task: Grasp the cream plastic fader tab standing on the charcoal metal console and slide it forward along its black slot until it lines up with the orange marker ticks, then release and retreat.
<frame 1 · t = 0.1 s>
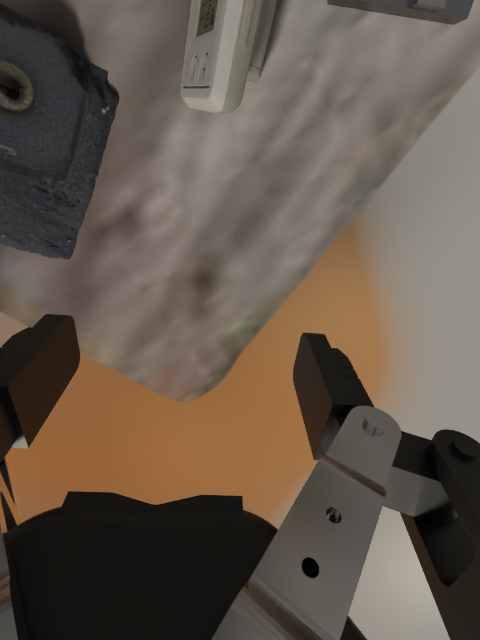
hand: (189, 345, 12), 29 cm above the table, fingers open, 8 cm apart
dark slate chunk: (27, 148, 34), on the table
digital clock: (225, 11, 29), on the table
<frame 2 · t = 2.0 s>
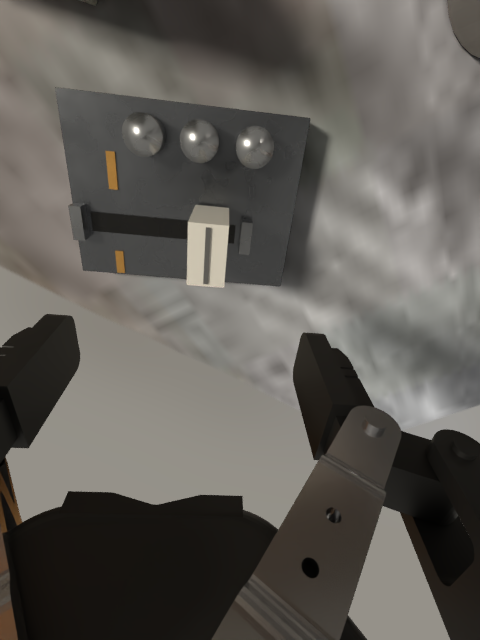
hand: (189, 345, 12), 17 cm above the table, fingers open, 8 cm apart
fader tab: (209, 244, 22), point 5 cm above the table, slide at 0.0 cm
console: (188, 197, 25), on the table
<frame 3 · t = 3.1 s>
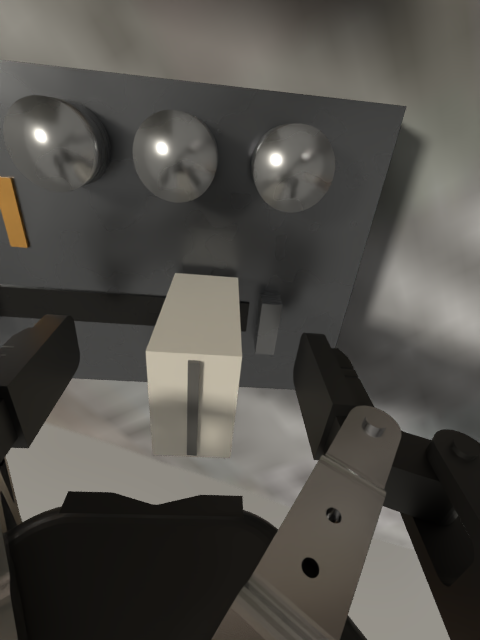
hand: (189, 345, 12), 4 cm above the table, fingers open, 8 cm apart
fader tab: (199, 357, 11), point 5 cm above the table, slide at 0.0 cm
console: (165, 249, 14), on the table
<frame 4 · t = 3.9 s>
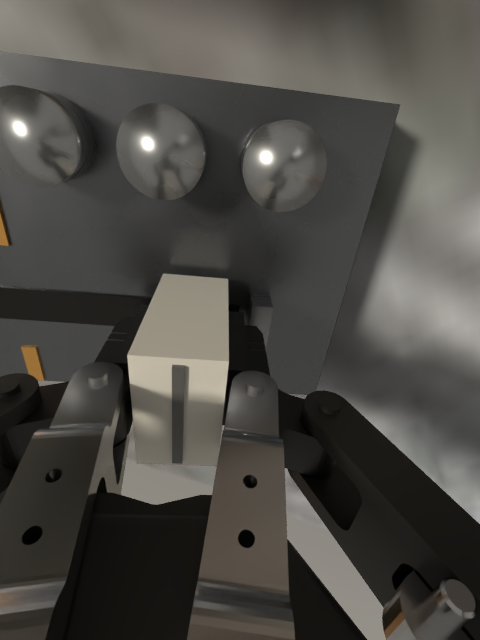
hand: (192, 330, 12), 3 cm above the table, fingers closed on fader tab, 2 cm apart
fader tab: (187, 361, 11), point 5 cm above the table, slide at 0.0 cm, touching gripper
console: (153, 249, 14), on the table
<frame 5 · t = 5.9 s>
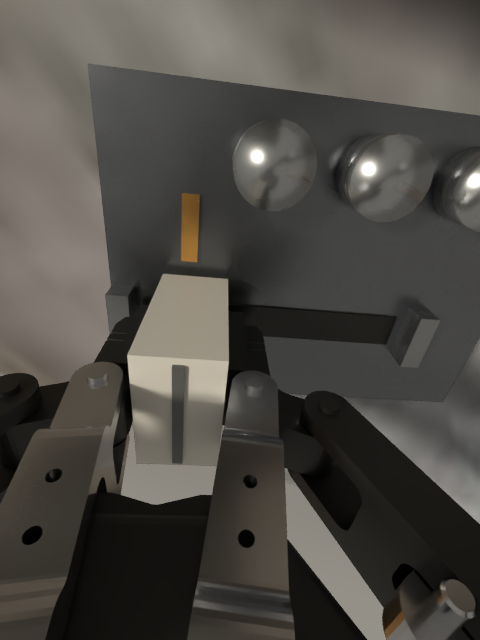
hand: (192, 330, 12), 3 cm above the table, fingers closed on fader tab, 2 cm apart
fader tab: (187, 361, 11), point 5 cm above the table, slide at 6.7 cm, touching gripper
console: (305, 263, 15), on the table
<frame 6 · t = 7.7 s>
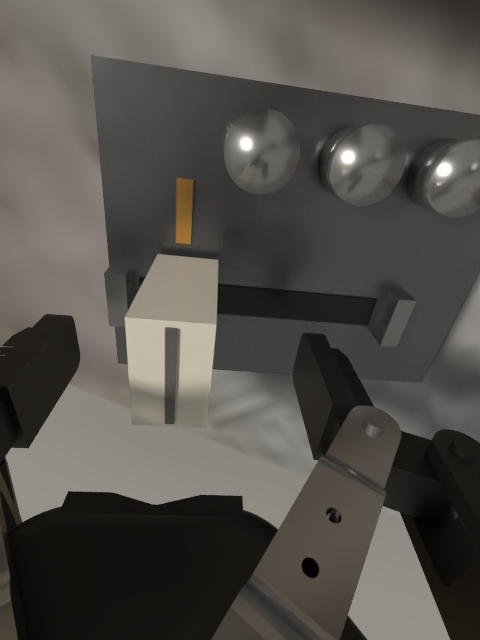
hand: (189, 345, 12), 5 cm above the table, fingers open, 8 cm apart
fader tab: (179, 333, 12), point 5 cm above the table, slide at 6.7 cm
console: (292, 248, 15), on the table
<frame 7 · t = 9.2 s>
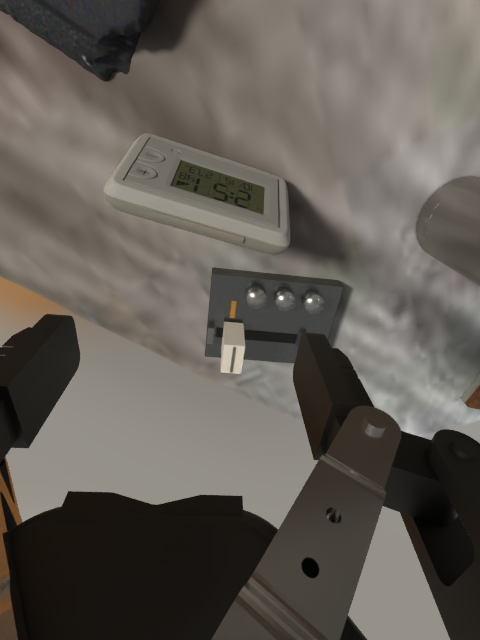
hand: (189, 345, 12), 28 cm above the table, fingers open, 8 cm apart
fader tab: (232, 347, 39), point 5 cm above the table, slide at 6.7 cm
console: (268, 315, 43), on the table
digital clock: (211, 183, 35), on the table
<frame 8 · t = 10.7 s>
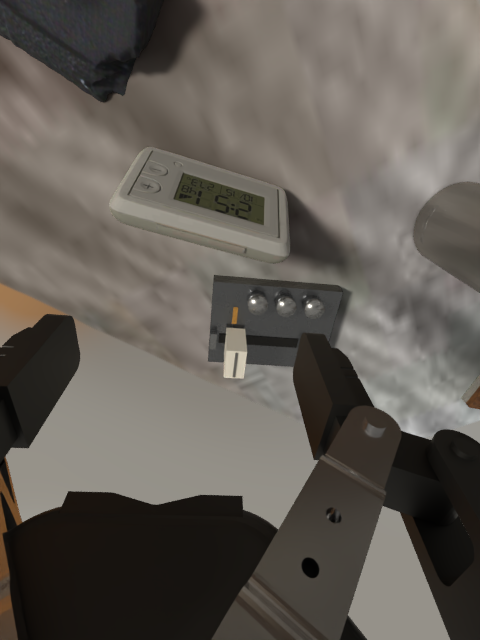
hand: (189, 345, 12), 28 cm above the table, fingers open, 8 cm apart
fader tab: (234, 352, 40), point 5 cm above the table, slide at 6.7 cm
console: (270, 320, 44), on the table
digital clock: (212, 193, 36), on the table
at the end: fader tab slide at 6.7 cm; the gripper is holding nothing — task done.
